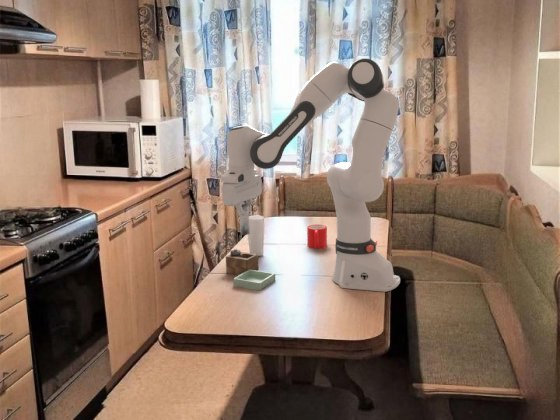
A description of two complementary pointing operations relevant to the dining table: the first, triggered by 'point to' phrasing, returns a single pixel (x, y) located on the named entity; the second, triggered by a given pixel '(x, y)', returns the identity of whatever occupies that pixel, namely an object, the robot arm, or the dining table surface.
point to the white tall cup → (256, 234)
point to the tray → (254, 279)
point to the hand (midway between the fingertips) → (244, 213)
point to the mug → (317, 236)
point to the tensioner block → (241, 262)
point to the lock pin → (245, 220)
